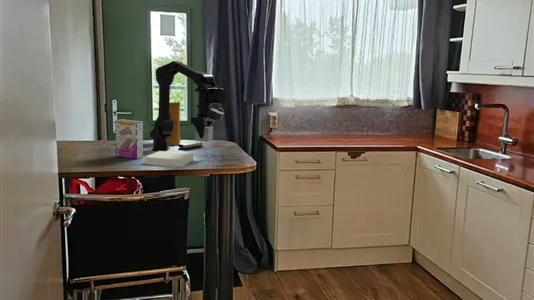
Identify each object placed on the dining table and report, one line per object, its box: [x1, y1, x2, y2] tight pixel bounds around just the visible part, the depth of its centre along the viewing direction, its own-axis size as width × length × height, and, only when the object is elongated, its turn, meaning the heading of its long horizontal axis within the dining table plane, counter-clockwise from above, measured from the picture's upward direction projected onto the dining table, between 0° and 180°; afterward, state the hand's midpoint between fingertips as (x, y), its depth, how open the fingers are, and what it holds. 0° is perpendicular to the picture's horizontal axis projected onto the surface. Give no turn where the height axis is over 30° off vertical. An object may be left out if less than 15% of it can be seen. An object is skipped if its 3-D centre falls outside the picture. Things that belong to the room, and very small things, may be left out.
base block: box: [144, 150, 194, 168], centre depth 201 cm, size 16×14×3 cm
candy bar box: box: [115, 118, 144, 160], centre depth 206 cm, size 11×5×16 cm, turn 71°
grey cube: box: [194, 125, 214, 143], centre depth 208 cm, size 6×6×6 cm
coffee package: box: [168, 101, 181, 147], centre depth 240 cm, size 10×12×22 cm
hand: (204, 137), depth 209 cm, fingers closed on grey cube, 6 cm apart
